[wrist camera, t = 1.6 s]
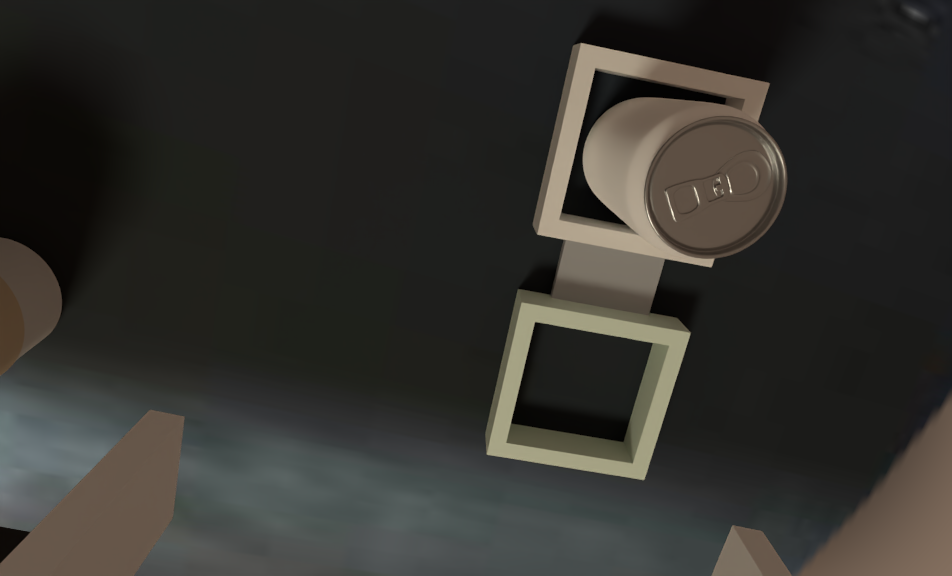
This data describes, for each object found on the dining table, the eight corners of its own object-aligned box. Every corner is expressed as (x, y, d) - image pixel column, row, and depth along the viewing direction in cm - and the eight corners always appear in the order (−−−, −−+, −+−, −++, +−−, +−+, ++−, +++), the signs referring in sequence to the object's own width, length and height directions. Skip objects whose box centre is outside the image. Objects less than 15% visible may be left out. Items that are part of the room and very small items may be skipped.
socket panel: (573, 45, 35) (581, 42, 33) (749, 83, 36) (769, 83, 33) (485, 433, 42) (486, 454, 40) (634, 457, 43) (644, 479, 40)
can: (707, 187, 37) (815, 234, 26) (601, 228, 38) (660, 292, 27) (676, 77, 36) (777, 76, 24) (565, 123, 36) (612, 143, 25)
